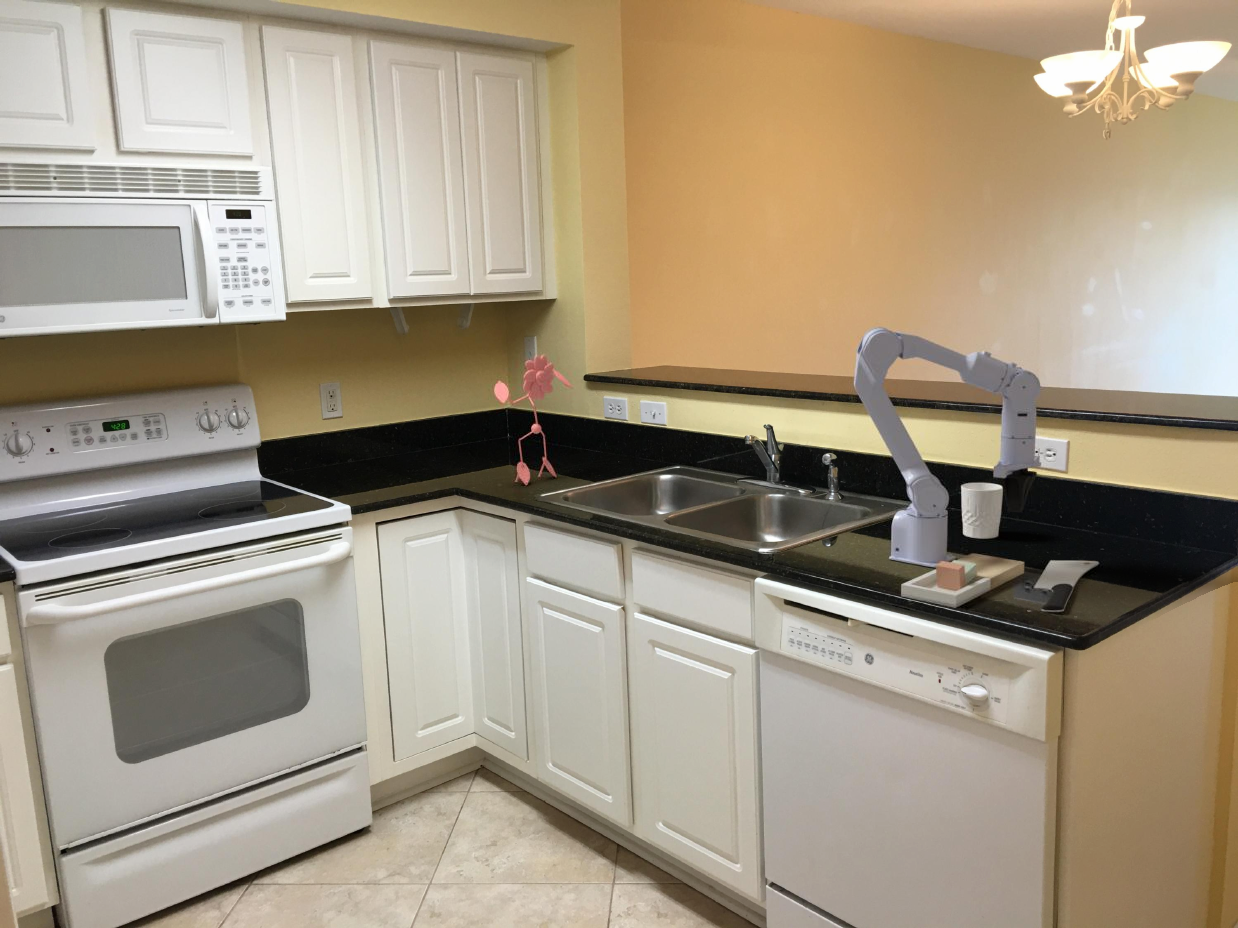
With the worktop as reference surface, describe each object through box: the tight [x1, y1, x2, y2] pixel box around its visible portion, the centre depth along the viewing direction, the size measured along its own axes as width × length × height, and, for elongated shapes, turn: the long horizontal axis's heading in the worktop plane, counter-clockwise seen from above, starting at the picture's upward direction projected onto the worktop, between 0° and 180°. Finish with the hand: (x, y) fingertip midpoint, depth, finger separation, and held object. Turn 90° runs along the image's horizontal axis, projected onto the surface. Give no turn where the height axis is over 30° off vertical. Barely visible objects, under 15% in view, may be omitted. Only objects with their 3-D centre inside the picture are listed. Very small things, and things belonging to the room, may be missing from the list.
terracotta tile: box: [935, 561, 966, 591], centre depth 164 cm, size 4×4×2 cm
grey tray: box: [900, 568, 991, 609], centre depth 164 cm, size 10×12×2 cm
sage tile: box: [950, 559, 977, 584], centre depth 166 cm, size 4×4×2 cm
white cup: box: [960, 482, 1004, 540], centre depth 200 cm, size 8×8×10 cm
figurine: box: [493, 354, 574, 487], centre depth 269 cm, size 15×26×35 cm, turn 140°
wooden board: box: [956, 552, 1025, 591], centre depth 172 cm, size 10×13×2 cm
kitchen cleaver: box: [1033, 560, 1100, 615], centre depth 166 cm, size 31×2×10 cm
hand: (1015, 511), depth 179 cm, fingers closed
